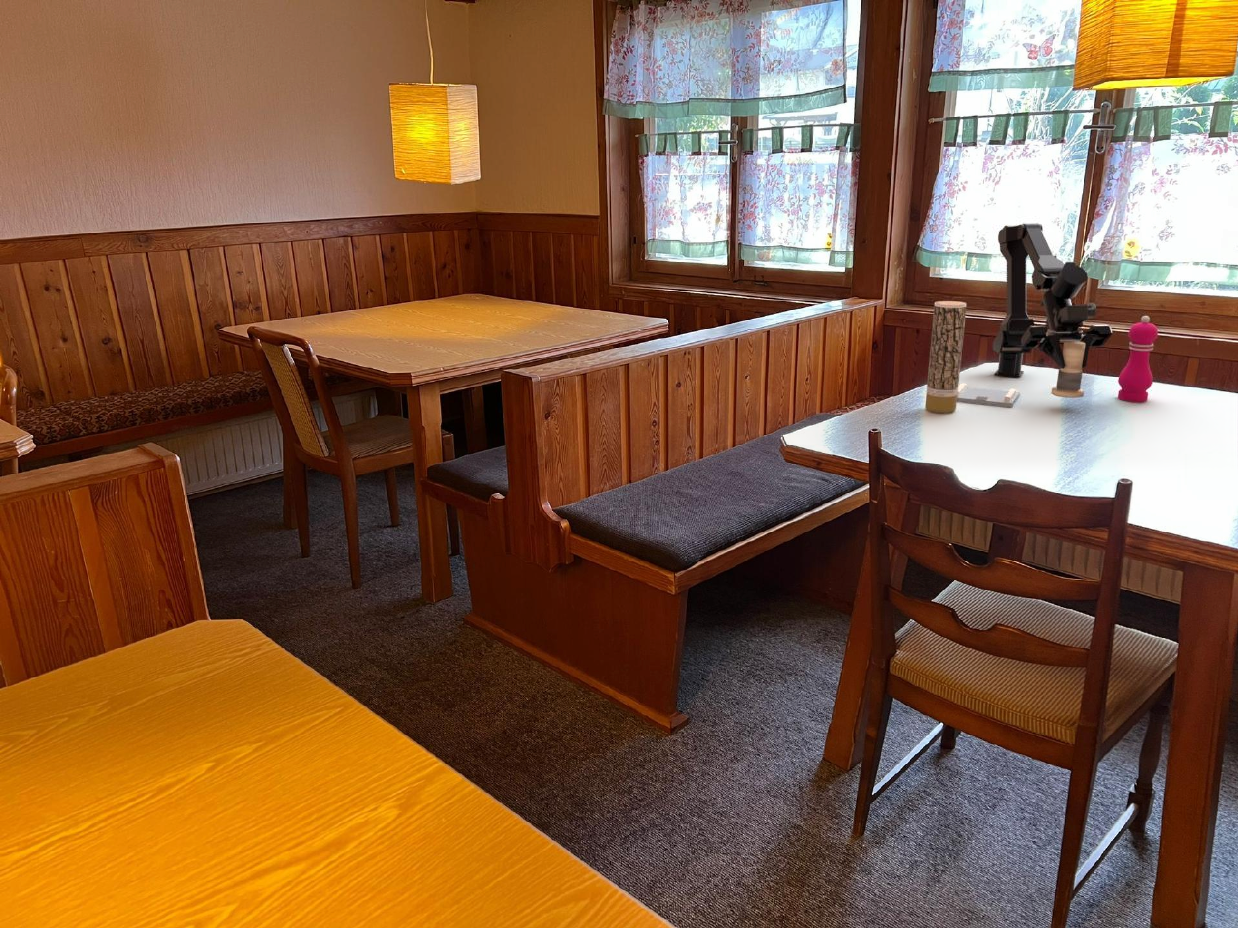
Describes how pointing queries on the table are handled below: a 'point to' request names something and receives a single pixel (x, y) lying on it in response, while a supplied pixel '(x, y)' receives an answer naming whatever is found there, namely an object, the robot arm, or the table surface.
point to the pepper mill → (1138, 363)
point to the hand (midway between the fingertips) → (1074, 367)
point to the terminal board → (987, 396)
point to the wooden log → (945, 356)
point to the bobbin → (1070, 371)
